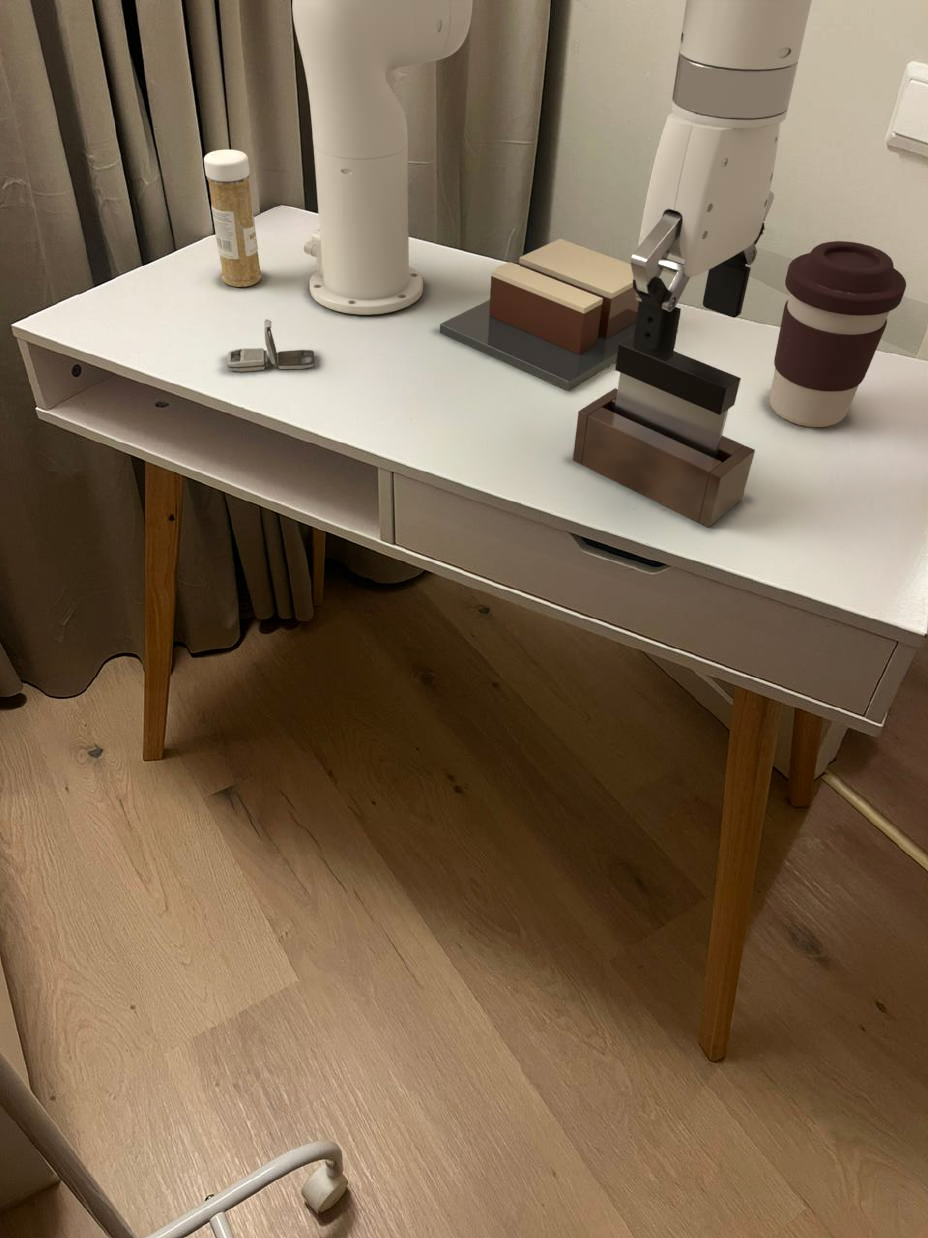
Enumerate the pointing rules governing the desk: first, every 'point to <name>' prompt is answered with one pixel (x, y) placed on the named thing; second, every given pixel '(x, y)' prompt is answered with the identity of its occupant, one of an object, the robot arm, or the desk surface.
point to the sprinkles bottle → (233, 216)
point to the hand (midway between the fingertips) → (687, 331)
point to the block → (661, 463)
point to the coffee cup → (831, 329)
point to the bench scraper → (675, 396)
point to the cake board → (541, 355)
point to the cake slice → (545, 307)
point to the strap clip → (258, 356)
